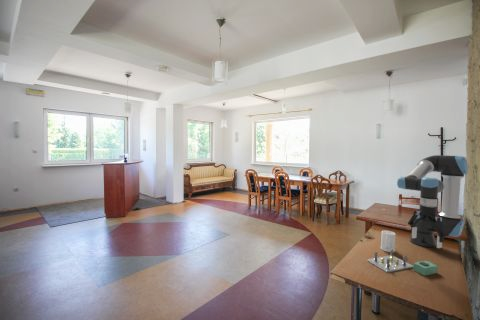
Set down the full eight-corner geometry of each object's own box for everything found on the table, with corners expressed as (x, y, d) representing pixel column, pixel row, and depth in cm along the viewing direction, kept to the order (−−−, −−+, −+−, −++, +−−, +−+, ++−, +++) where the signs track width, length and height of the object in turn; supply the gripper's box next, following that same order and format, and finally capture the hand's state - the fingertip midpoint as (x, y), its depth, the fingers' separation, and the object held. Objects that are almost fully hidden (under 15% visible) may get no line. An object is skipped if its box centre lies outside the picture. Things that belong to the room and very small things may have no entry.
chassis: (391, 256, 151) (392, 247, 150) (413, 267, 137) (414, 257, 137) (367, 260, 145) (367, 251, 144) (387, 272, 131) (387, 262, 131)
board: (425, 267, 137) (426, 259, 137) (437, 273, 132) (437, 264, 131) (413, 270, 134) (413, 261, 134) (424, 276, 129) (424, 267, 128)
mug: (391, 255, 153) (392, 237, 152) (377, 250, 159) (377, 233, 158) (396, 249, 161) (397, 232, 160) (382, 245, 167) (383, 229, 166)
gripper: (402, 200, 142) (400, 235, 143) (448, 212, 118) (446, 253, 119) (411, 200, 144) (409, 233, 145) (459, 211, 120) (456, 251, 121)
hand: (425, 242), depth 132 cm, fingers open, 13 cm apart
